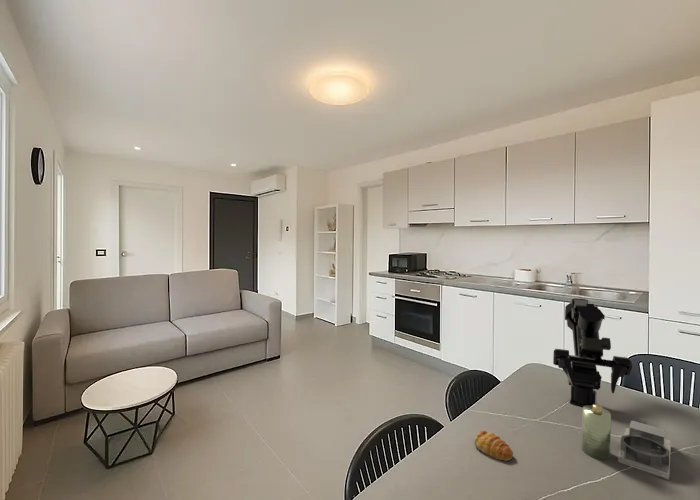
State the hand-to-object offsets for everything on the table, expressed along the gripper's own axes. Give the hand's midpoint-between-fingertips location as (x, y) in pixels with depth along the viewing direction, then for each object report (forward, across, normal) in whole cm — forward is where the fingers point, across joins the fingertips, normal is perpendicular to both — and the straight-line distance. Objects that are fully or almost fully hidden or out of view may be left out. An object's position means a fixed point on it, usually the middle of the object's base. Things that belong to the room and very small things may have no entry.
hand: (592, 389), depth 97 cm
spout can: (+15, 0, +4) cm, 16 cm away
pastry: (+24, -24, -4) cm, 34 cm away
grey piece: (+12, +11, +8) cm, 18 cm away
